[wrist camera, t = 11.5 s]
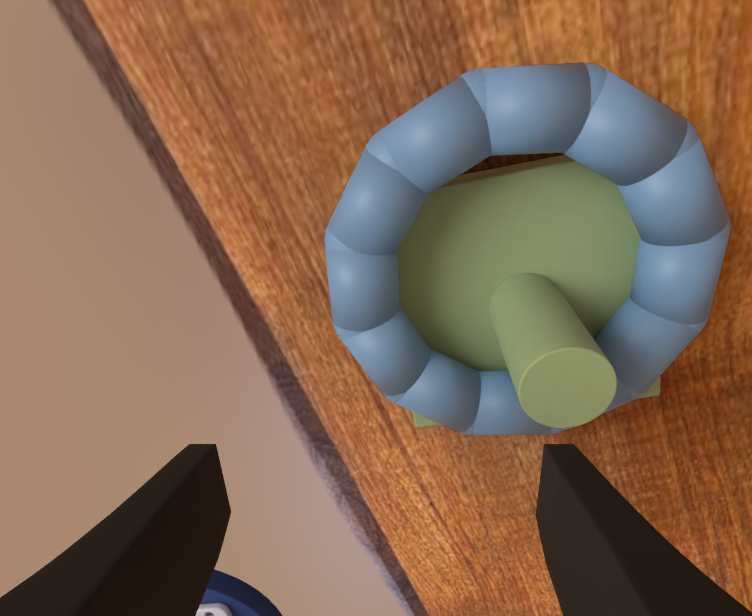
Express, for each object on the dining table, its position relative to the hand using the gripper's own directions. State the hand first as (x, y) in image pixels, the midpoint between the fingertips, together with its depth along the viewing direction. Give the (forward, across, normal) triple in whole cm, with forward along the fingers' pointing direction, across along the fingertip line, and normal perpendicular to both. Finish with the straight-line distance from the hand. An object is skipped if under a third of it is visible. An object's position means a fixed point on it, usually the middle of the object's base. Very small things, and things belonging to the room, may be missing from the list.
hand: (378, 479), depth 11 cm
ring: (+6, -4, -2) cm, 8 cm away
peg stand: (+8, -5, -1) cm, 10 cm away
